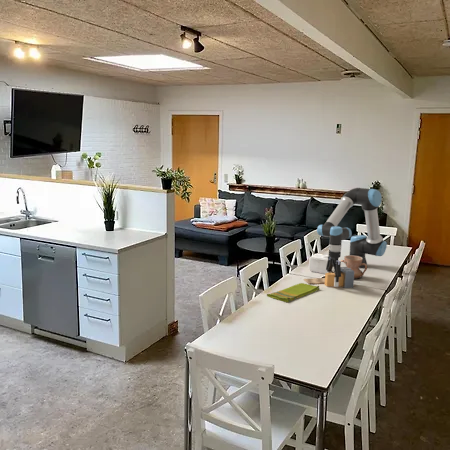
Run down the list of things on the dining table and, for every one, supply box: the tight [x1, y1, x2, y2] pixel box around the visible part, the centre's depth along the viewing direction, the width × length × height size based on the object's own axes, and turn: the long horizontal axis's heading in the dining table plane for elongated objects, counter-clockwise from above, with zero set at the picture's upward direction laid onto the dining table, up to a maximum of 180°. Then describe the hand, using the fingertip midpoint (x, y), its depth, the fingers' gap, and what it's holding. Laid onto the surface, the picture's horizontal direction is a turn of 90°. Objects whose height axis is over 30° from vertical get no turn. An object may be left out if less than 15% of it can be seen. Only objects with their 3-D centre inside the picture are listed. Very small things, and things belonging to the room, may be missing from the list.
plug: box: [324, 272, 354, 288], centre depth 301 cm, size 18×4×8 cm, turn 98°
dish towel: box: [266, 282, 321, 303], centre depth 284 cm, size 15×36×3 cm, turn 137°
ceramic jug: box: [340, 254, 368, 280], centre depth 320 cm, size 18×14×14 cm
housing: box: [341, 266, 355, 289], centre depth 301 cm, size 6×10×12 cm, turn 12°
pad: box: [303, 277, 325, 285], centre depth 309 cm, size 20×10×1 cm, turn 102°
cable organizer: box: [308, 253, 329, 275], centre depth 332 cm, size 15×11×12 cm
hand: (332, 284), depth 300 cm, fingers open, 10 cm apart
